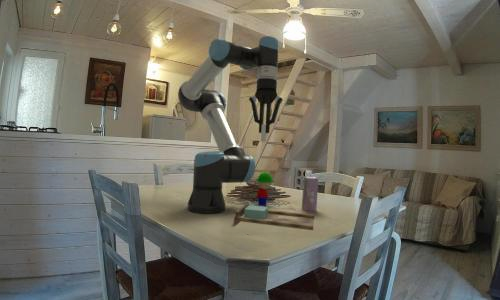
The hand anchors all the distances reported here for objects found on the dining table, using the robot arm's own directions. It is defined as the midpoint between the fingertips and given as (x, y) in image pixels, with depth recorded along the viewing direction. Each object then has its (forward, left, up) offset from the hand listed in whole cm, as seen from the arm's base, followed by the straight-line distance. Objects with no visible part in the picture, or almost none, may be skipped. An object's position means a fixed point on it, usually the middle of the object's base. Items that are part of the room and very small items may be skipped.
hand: (263, 141), depth 112 cm
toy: (-2, +19, -29) cm, 34 cm away
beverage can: (+18, +14, -29) cm, 37 cm away
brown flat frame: (+8, -7, -28) cm, 30 cm away
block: (0, -7, -27) cm, 28 cm away
